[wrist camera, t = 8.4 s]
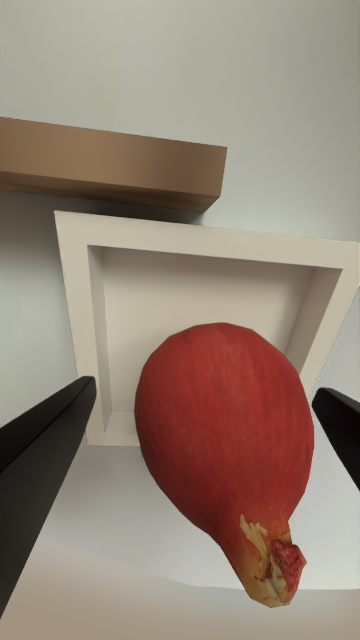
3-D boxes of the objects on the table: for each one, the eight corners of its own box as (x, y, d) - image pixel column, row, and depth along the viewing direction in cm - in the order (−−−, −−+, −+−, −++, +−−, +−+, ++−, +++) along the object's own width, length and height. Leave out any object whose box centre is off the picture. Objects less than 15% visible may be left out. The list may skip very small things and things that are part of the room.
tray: (331, 244, 9) (378, 244, 7) (267, 418, 14) (284, 450, 12) (83, 218, 8) (53, 210, 6) (101, 412, 13) (87, 445, 11)
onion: (247, 383, 12) (387, 634, 4) (155, 393, 11) (131, 669, 4) (254, 292, 9) (590, 492, 2) (138, 304, 9) (14, 563, 2)
